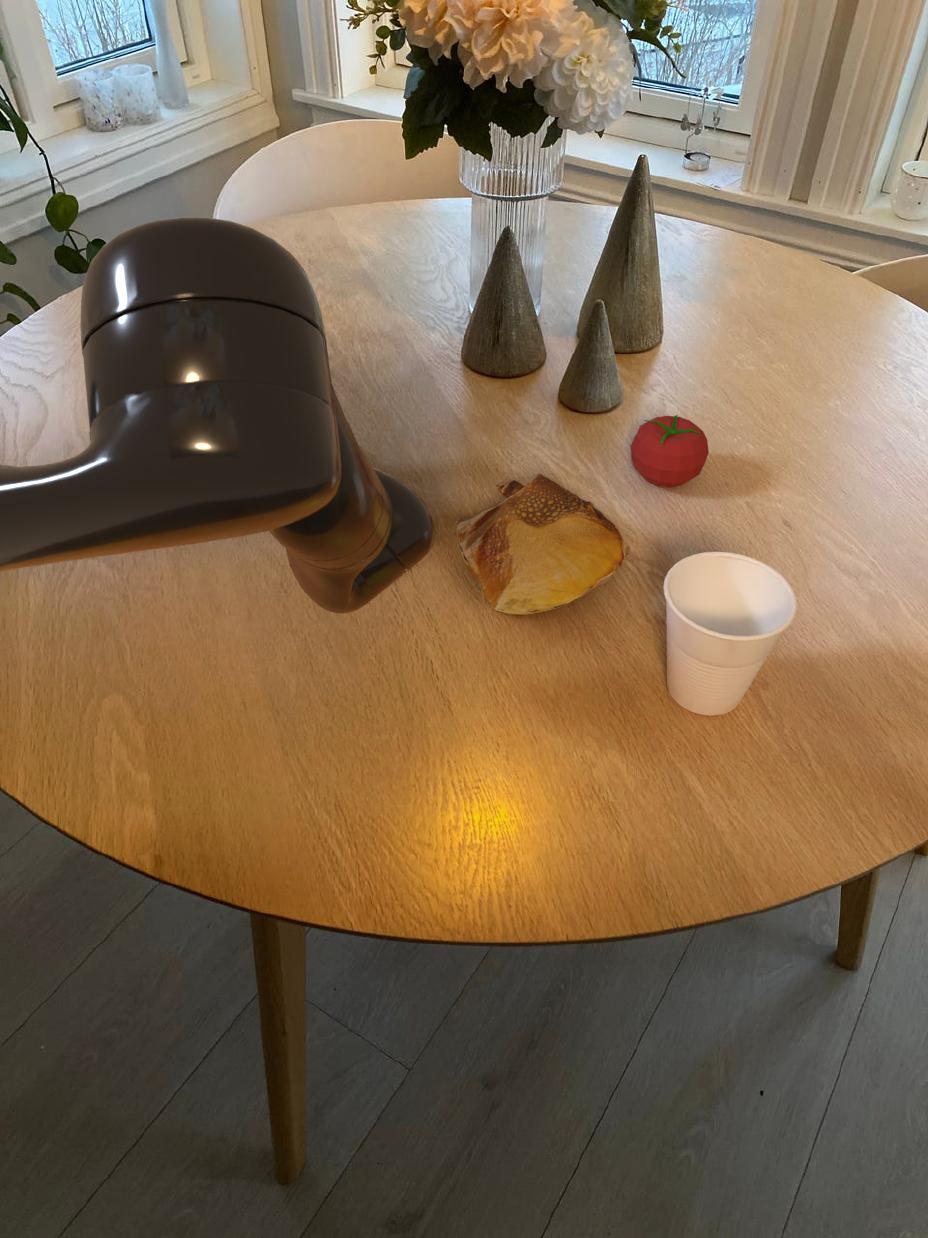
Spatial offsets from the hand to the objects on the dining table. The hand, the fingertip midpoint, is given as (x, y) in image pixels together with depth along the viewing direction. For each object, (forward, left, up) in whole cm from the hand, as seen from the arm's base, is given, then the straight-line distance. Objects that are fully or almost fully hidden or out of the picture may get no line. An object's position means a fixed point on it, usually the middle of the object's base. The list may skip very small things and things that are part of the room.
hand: (207, 348), depth 88 cm
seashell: (+32, -6, -16) cm, 36 cm away
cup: (+48, -20, -16) cm, 54 cm away
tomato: (+44, +10, -16) cm, 48 cm away
